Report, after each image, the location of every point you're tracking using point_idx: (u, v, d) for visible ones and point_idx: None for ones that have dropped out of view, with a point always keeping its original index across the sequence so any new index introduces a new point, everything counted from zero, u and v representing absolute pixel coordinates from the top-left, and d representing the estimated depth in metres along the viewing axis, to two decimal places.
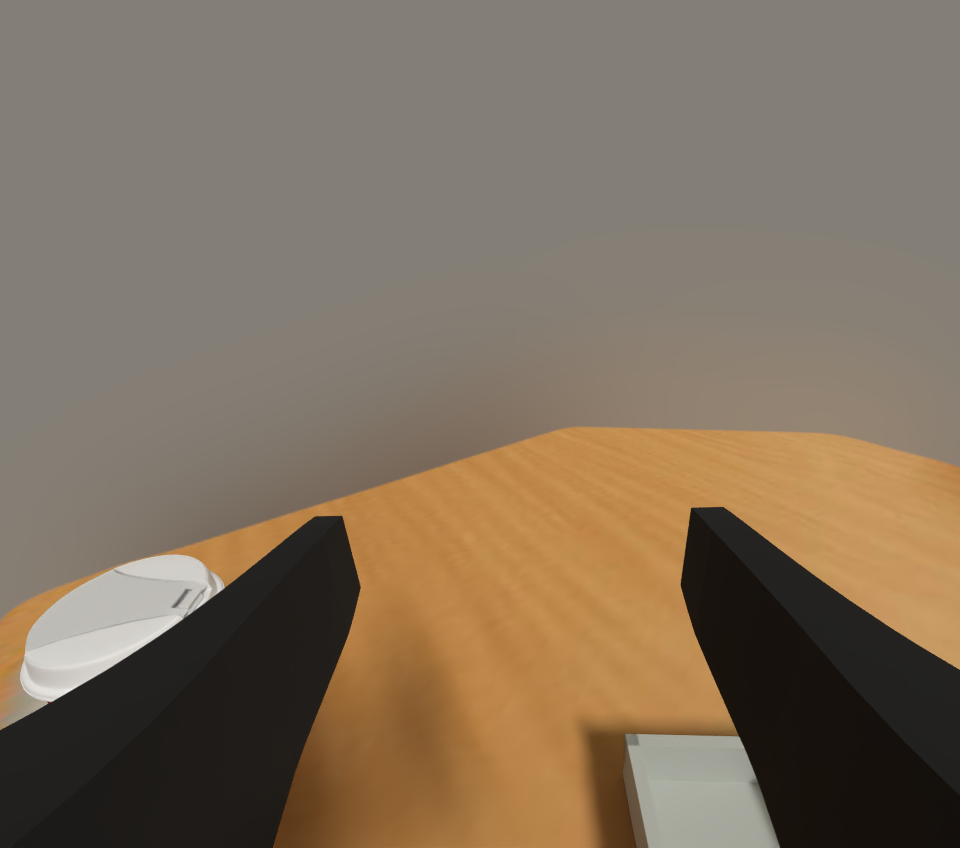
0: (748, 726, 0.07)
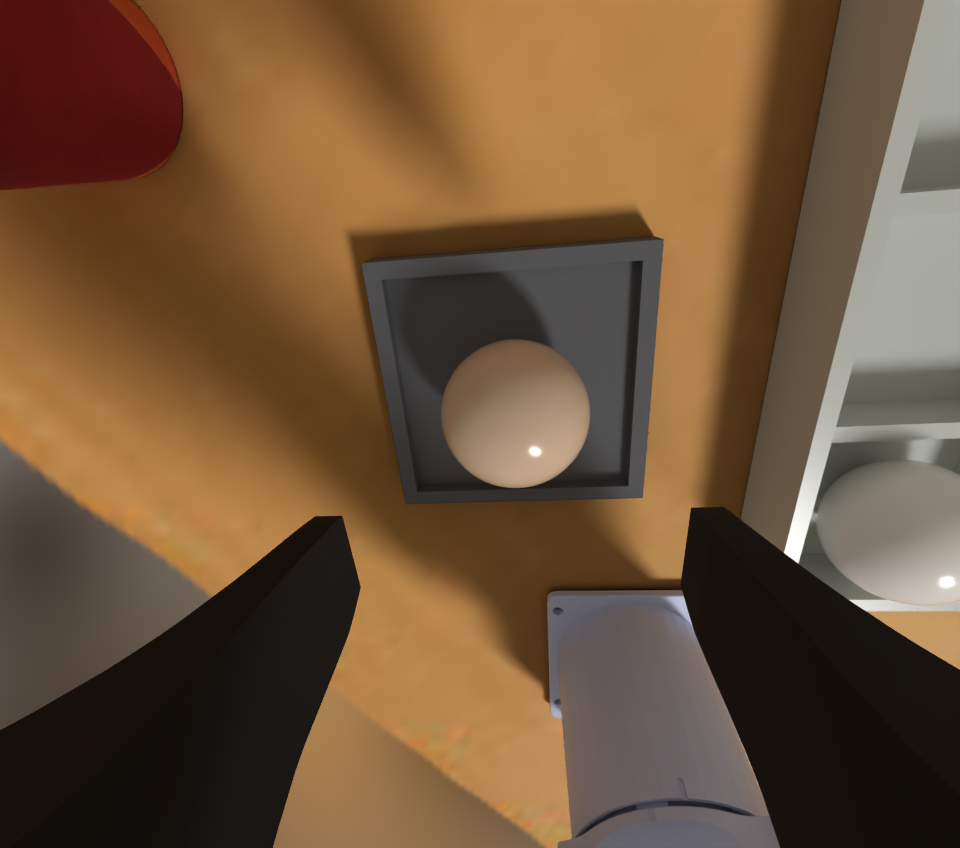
0: (748, 726, 0.07)
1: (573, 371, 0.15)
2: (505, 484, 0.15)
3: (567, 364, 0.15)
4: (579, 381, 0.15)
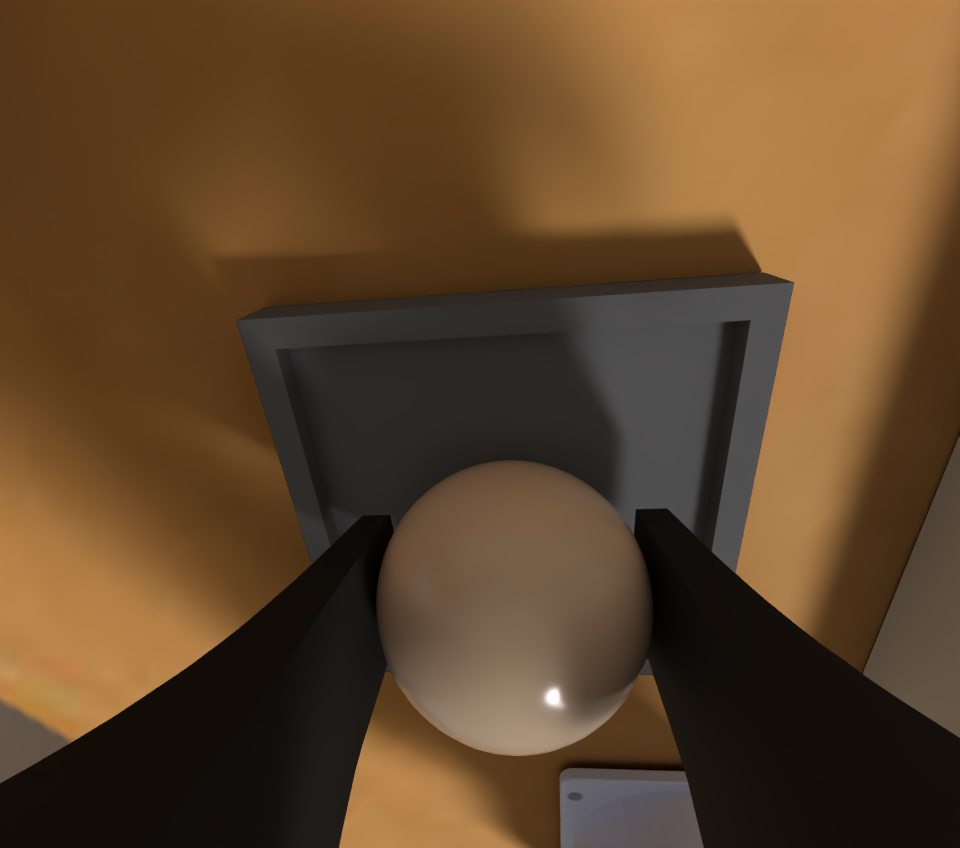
0: (679, 724, 0.08)
1: (625, 539, 0.08)
2: None
3: (613, 526, 0.08)
4: (636, 558, 0.08)
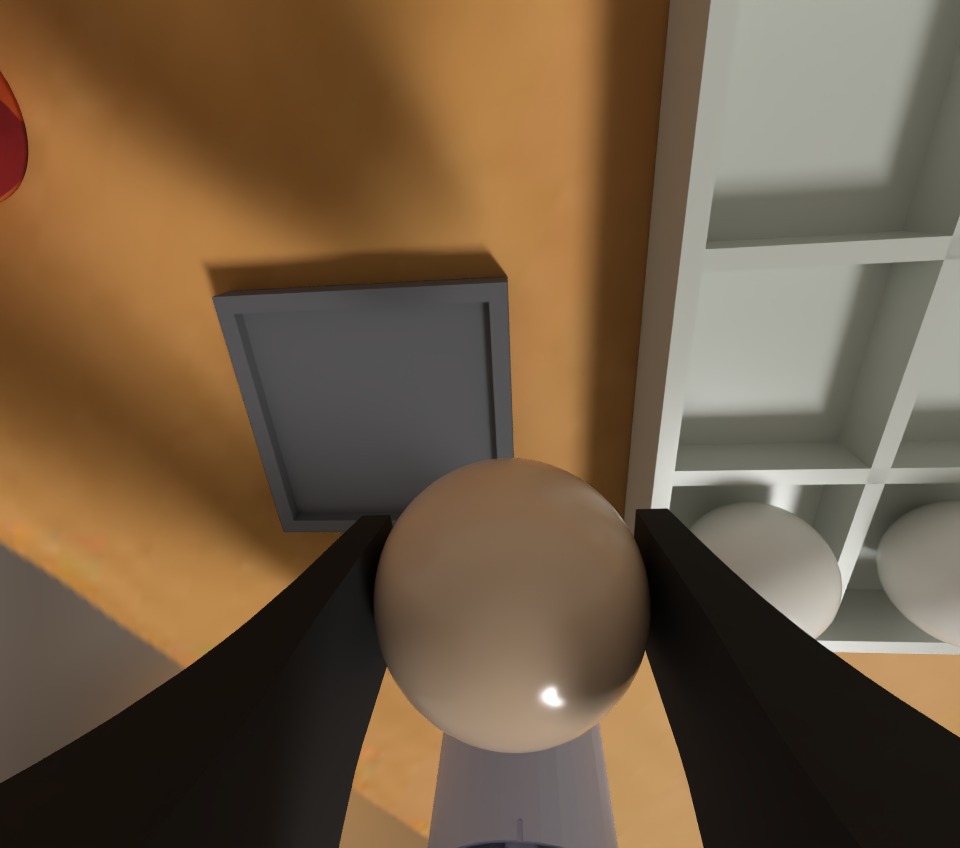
0: (679, 724, 0.08)
1: (622, 537, 0.08)
2: None
3: (610, 523, 0.08)
4: (633, 556, 0.08)
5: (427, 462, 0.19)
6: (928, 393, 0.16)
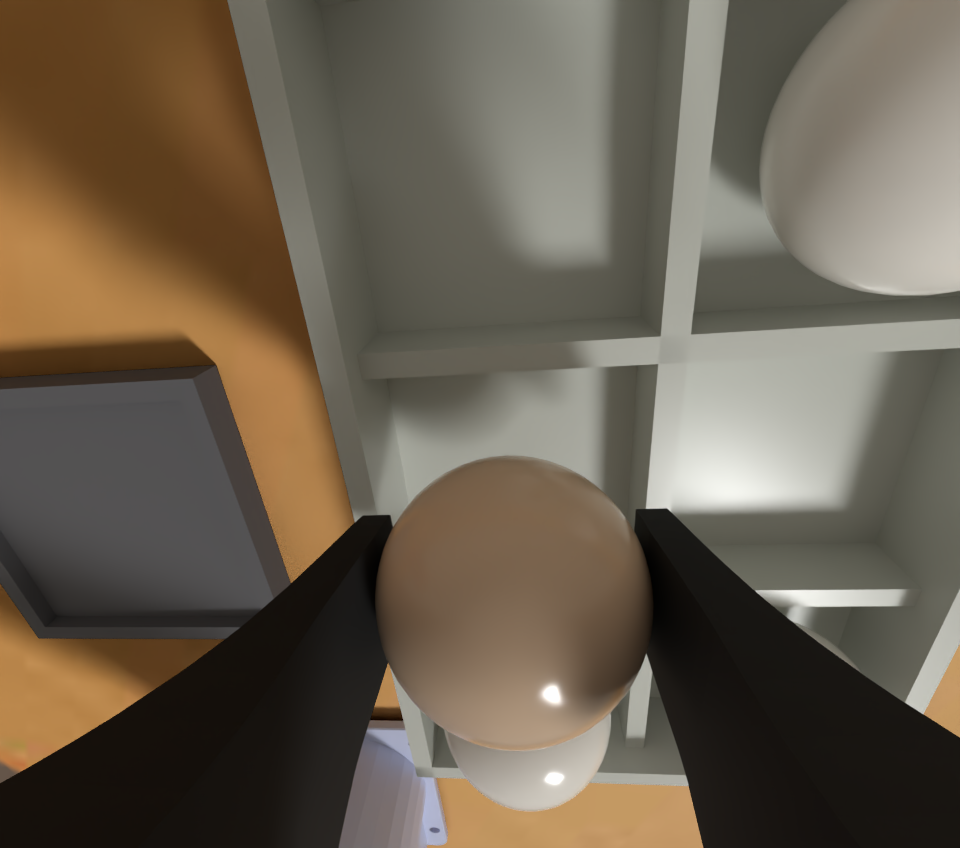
0: (679, 725, 0.08)
1: (625, 534, 0.08)
2: None
3: (614, 521, 0.08)
4: (636, 553, 0.08)
5: (178, 565, 0.16)
6: (716, 494, 0.13)
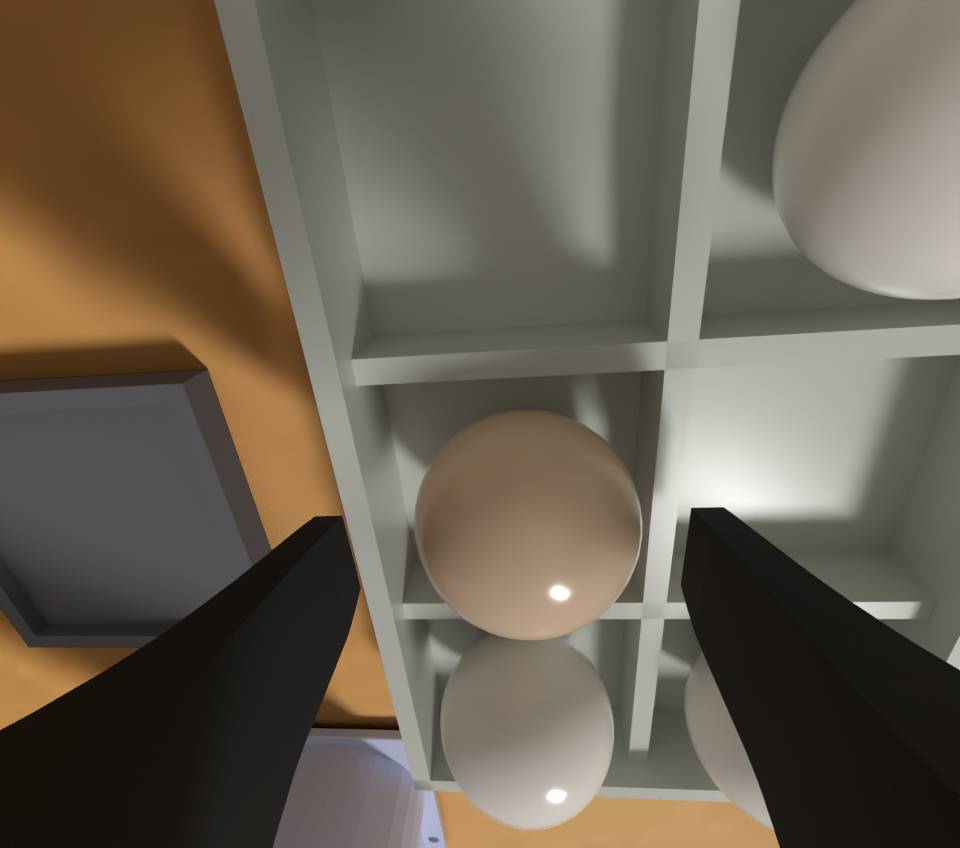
0: (748, 726, 0.07)
1: (618, 459, 0.10)
2: None
3: (609, 449, 0.10)
4: (627, 473, 0.10)
5: (170, 573, 0.16)
6: (722, 503, 0.13)
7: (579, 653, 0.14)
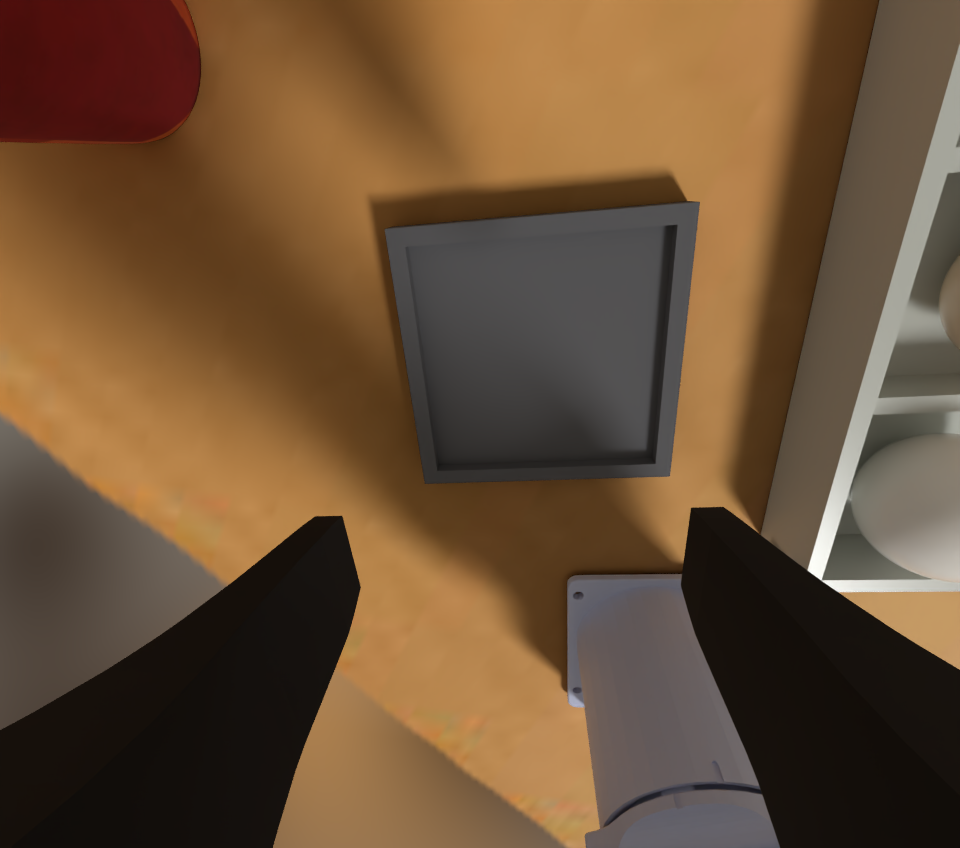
0: (748, 726, 0.07)
1: None
2: None
3: None
4: None
5: (582, 405, 0.18)
6: None
7: None
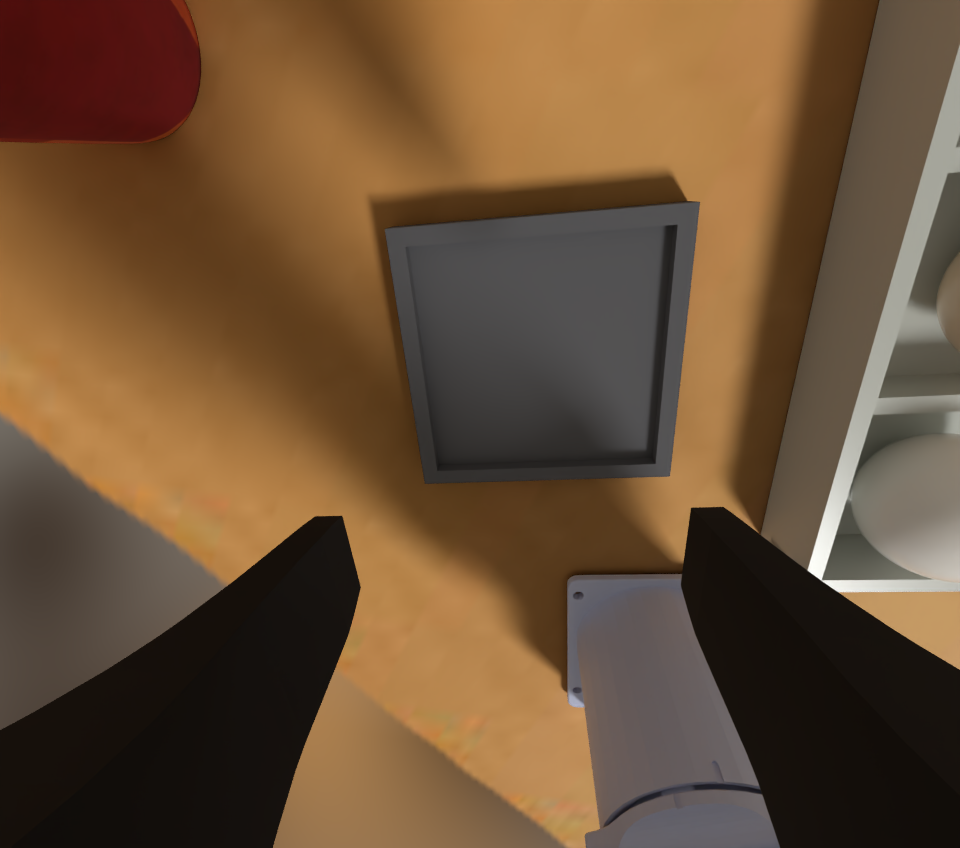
0: (748, 726, 0.07)
1: None
2: None
3: None
4: None
5: (582, 405, 0.18)
6: None
7: None
